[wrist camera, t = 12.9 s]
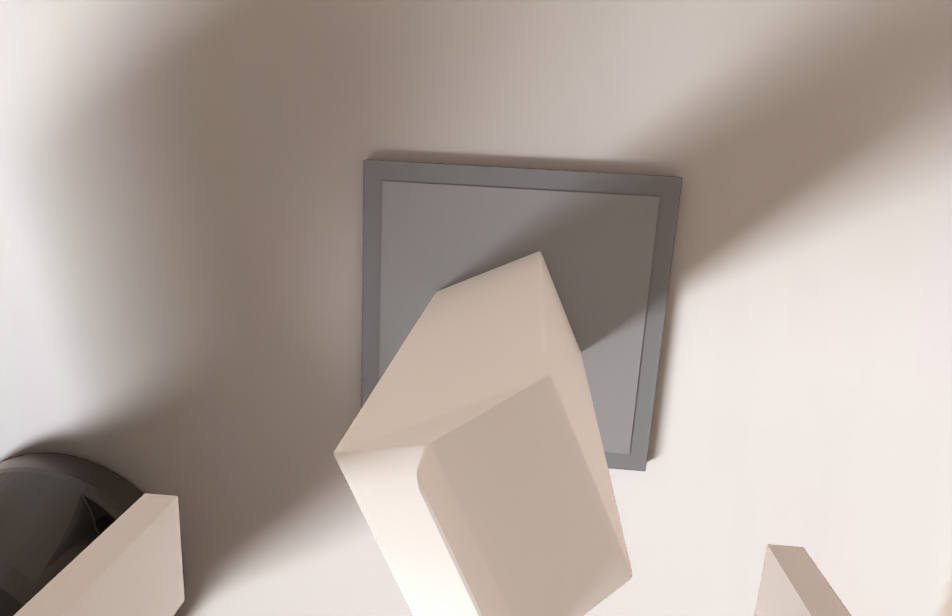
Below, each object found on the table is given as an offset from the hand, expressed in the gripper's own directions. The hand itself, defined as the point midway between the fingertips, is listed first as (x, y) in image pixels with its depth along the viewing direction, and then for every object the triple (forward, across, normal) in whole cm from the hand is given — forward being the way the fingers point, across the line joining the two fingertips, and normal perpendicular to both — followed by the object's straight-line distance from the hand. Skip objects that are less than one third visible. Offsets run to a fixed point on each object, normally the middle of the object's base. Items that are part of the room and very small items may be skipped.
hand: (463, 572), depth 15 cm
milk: (+21, +1, 0) cm, 21 cm away
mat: (+22, +1, 0) cm, 22 cm away
